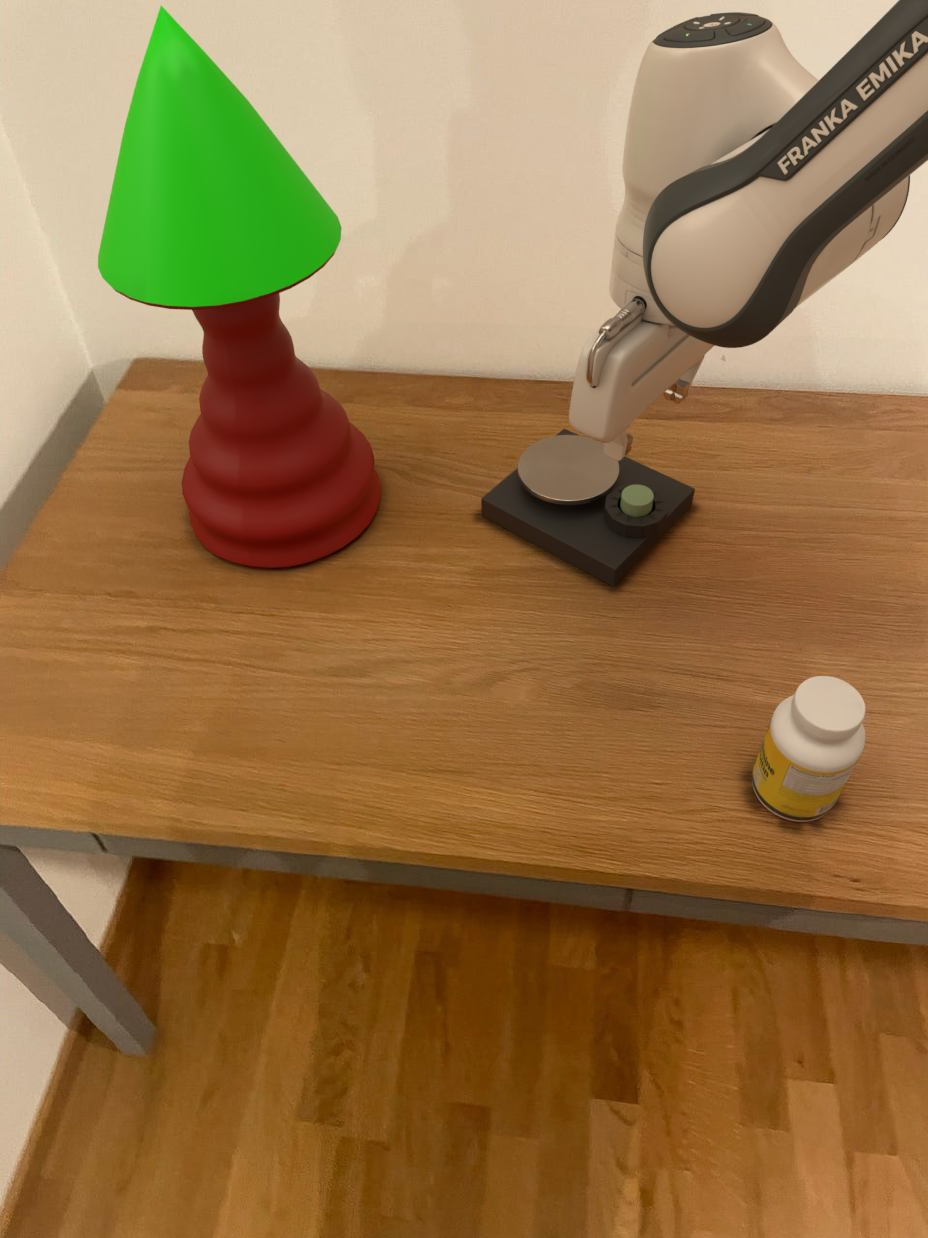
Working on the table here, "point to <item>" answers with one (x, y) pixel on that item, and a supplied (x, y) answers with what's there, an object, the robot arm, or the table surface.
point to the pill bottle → (810, 749)
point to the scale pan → (567, 470)
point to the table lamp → (236, 308)
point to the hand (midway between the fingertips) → (647, 424)
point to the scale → (592, 520)
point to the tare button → (636, 500)
